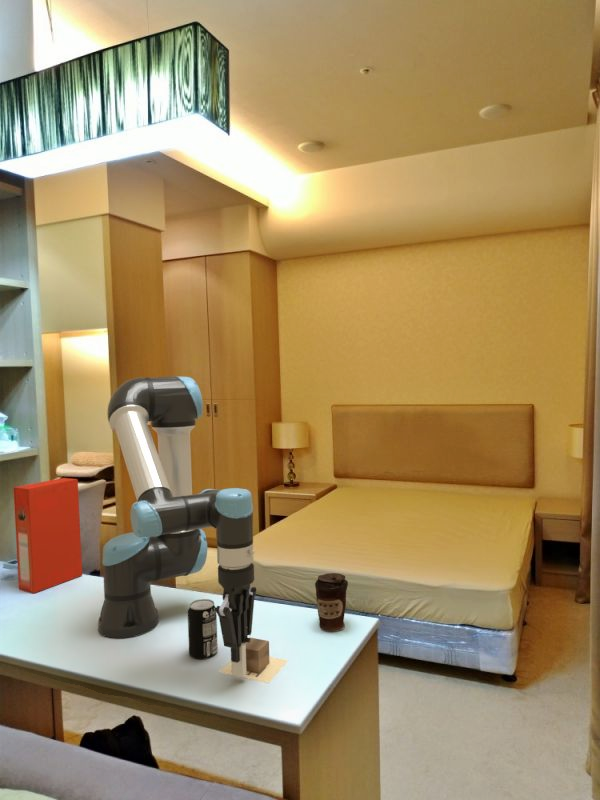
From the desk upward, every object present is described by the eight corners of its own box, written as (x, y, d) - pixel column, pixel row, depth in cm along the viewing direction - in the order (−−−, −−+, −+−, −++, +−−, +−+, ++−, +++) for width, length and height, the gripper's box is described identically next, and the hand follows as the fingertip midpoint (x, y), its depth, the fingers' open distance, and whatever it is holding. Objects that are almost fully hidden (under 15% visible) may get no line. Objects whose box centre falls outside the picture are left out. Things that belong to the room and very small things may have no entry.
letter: (219, 673, 124) (219, 672, 124) (241, 652, 134) (241, 651, 133) (268, 684, 120) (268, 682, 119) (288, 661, 129) (288, 660, 129)
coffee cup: (346, 636, 141) (345, 584, 140) (313, 633, 142) (312, 582, 142) (350, 620, 149) (349, 571, 148) (319, 618, 151) (317, 570, 150)
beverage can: (190, 648, 136) (189, 599, 136) (218, 646, 137) (216, 597, 136) (187, 662, 130) (185, 610, 129) (216, 660, 130) (215, 608, 130)
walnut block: (238, 669, 125) (238, 647, 125) (249, 658, 130) (249, 637, 130) (259, 673, 123) (258, 651, 123) (269, 662, 128) (268, 641, 128)
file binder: (18, 589, 177) (13, 487, 176) (66, 572, 192) (62, 477, 190) (34, 594, 173) (29, 489, 171) (82, 576, 188) (78, 479, 186)
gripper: (235, 576, 112) (238, 693, 113) (266, 556, 124) (269, 662, 125) (203, 571, 115) (206, 686, 116) (236, 552, 127) (239, 656, 128)
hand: (239, 673), depth 120 cm, fingers closed
